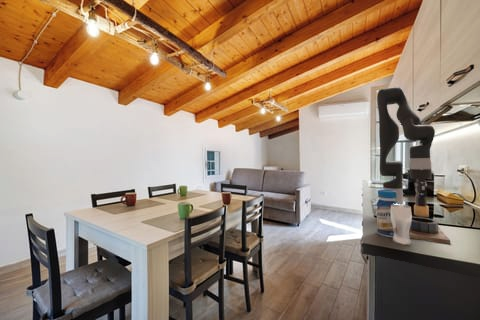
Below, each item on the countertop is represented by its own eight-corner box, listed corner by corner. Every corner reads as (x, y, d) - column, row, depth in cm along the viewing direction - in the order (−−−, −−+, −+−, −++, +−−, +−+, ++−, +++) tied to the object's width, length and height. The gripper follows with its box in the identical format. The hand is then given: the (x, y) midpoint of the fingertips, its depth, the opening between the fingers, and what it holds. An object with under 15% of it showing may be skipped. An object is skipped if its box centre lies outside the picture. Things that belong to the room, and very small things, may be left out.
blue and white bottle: (404, 236, 88) (403, 191, 88) (390, 239, 85) (389, 192, 85) (385, 230, 96) (384, 188, 96) (372, 232, 93) (371, 190, 94)
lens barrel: (406, 224, 99) (405, 215, 99) (434, 228, 93) (434, 218, 93) (408, 231, 90) (408, 221, 90) (440, 235, 84) (440, 224, 84)
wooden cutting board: (400, 224, 104) (400, 221, 104) (437, 229, 96) (437, 226, 96) (405, 237, 87) (405, 233, 87) (450, 244, 79) (450, 240, 79)
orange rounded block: (413, 213, 95) (412, 194, 95) (427, 214, 92) (427, 195, 92) (415, 215, 91) (414, 196, 91) (429, 217, 88) (429, 197, 88)
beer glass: (391, 237, 87) (390, 203, 87) (412, 241, 83) (411, 205, 83) (390, 242, 82) (389, 206, 82) (412, 247, 77) (411, 208, 77)
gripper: (407, 167, 100) (408, 202, 99) (411, 168, 88) (412, 207, 88) (427, 167, 95) (429, 203, 95) (434, 168, 84) (436, 209, 84)
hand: (421, 205), depth 92 cm, fingers closed on orange rounded block
